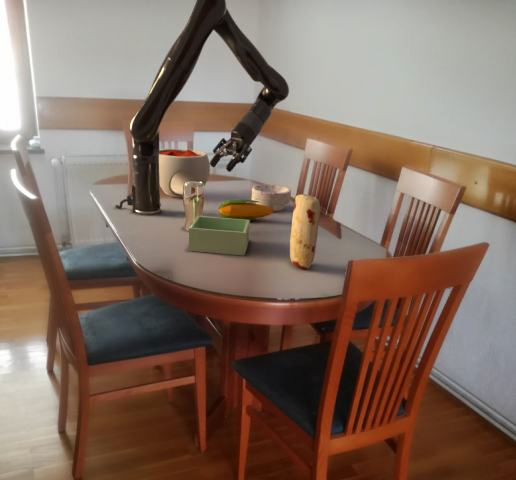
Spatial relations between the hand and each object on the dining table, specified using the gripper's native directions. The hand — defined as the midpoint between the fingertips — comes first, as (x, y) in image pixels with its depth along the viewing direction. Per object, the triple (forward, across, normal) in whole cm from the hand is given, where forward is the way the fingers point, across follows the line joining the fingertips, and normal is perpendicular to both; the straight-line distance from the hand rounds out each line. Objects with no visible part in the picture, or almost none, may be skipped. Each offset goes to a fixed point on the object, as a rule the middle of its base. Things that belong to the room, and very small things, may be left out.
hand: (219, 167), depth 172 cm
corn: (+4, 0, +23) cm, 23 cm away
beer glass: (+21, 0, +6) cm, 22 cm away
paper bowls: (-10, -8, +37) cm, 39 cm away
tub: (+23, +19, +4) cm, 30 cm away
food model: (+18, +45, +10) cm, 50 cm away
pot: (+4, -43, +23) cm, 49 cm away
